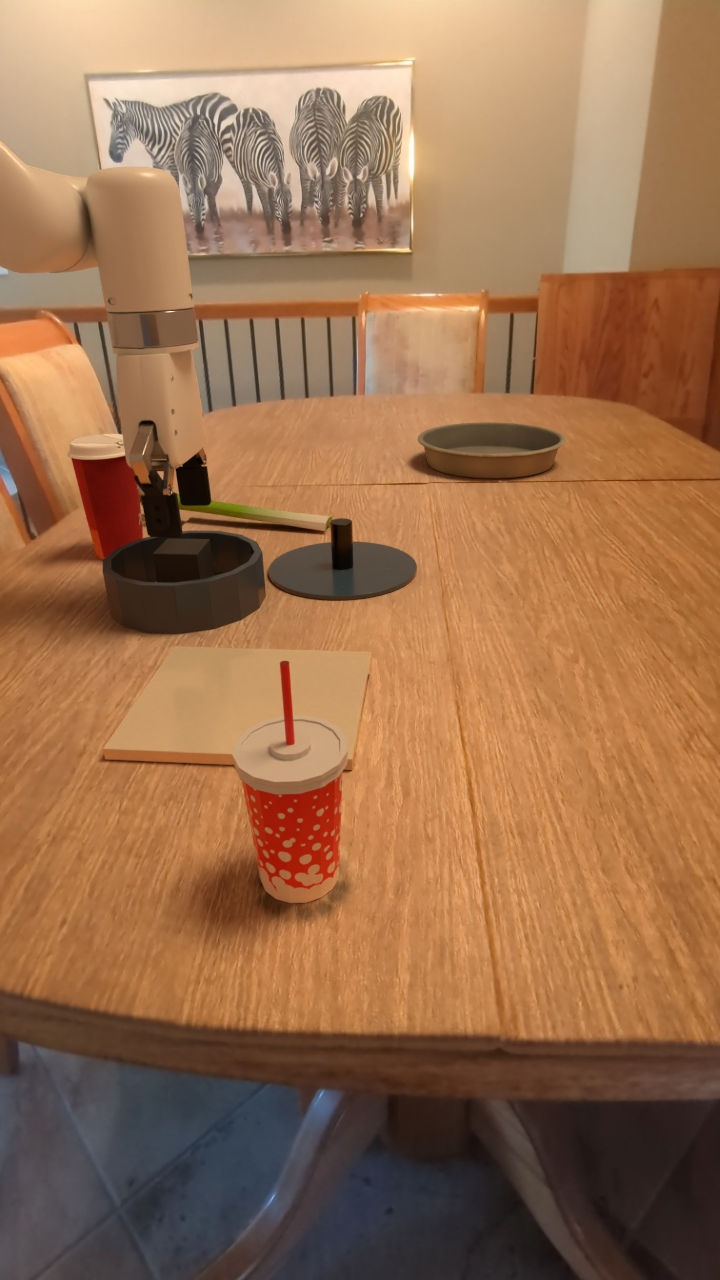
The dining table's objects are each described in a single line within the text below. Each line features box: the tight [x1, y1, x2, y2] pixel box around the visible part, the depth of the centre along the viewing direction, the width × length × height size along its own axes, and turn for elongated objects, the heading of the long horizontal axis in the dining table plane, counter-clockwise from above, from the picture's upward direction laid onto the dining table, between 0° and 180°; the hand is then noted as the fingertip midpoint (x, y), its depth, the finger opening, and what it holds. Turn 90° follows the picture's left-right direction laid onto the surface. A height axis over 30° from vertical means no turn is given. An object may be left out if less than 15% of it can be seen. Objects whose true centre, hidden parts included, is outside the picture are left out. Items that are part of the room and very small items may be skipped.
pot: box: [102, 529, 267, 635], centre depth 77 cm, size 16×16×6 cm
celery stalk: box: [139, 486, 334, 532], centre depth 101 cm, size 6×7×30 cm
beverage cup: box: [232, 661, 348, 904], centre depth 41 cm, size 6×6×14 cm
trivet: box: [102, 645, 373, 771], centre depth 60 cm, size 18×16×1 cm
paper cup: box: [66, 433, 144, 560], centre depth 89 cm, size 8×8×14 cm
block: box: [153, 538, 215, 583], centre depth 77 cm, size 4×4×6 cm
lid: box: [268, 517, 418, 601], centre depth 84 cm, size 17×17×6 cm
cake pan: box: [417, 421, 566, 480], centre depth 128 cm, size 25×25×4 cm
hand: (181, 519), depth 74 cm, fingers open, 9 cm apart
